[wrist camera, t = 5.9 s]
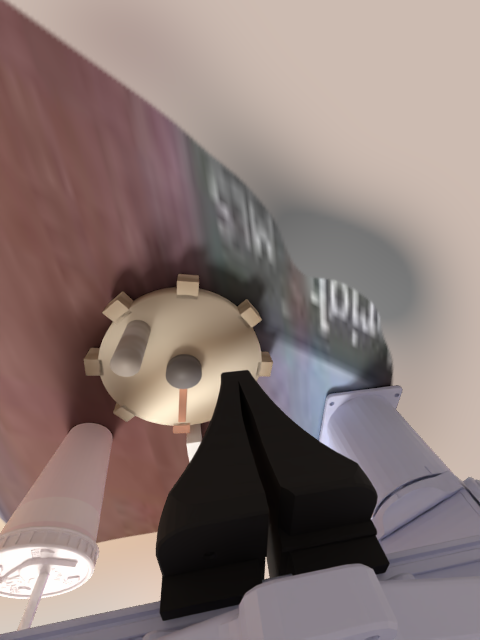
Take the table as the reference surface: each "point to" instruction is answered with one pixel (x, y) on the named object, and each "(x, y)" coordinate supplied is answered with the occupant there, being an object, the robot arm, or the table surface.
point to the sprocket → (175, 352)
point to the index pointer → (193, 440)
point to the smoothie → (57, 522)
